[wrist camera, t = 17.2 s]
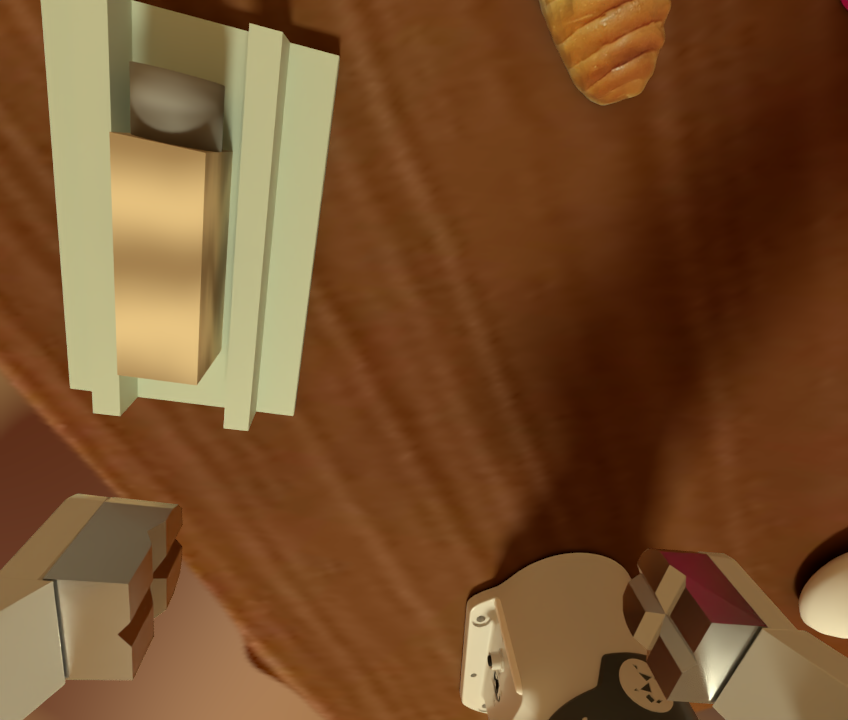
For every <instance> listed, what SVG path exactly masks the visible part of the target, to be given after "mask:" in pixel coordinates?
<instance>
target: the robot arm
mask: <svg viewBox="0 0 848 720" xmlns="http://www.w3.org/2000/svg"><path fill="white" fill-rule="evenodd" d="M182 525H183V524H182V508H181V507H180V506H179V505H178V504H169V503H160V502H151V501H143V500H134V499H125V498H117V497H112V498H109V497H101V496H94V495H84V494H76V495H73V496H71V497H69V498H68V499H66V500H65V501H64V502H63V503H62V504H61V505H60V507H59V508H58V509H57V510H56V511H55V512H54V513H53V514H52V515H51V516H50V517H49V519H48V520H47V521H46V522H45V523H44V524H43V525H42V526H41V527H40V528H39V529H38V530H37V532H36V533H35V534H34V535H33V536H32V537H31V538H30V539H29V540H28V541H27V542H26V543H25V544H24V546H23V547H22V548H21V549H20V550H19V551H18V552H17V553H16V554H15V555H14V556H13V557H12V558H11V560H10V561H9V562H8V563H7V564H6V565H5V566H4V567H3V568H2V569H1V570H0V720H23V719H24V718H25V717H26V716H28V715H29V714H30V713H31V712H32V711H34V710H35V709H36V708H37V707H38V706H39V705H41V704H42V703H43V702H44V701H45V700H46V699H48V698H49V697H50V696H51V695H52V694H54V693H55V692H56V691H57V690H58V689H60V688H61V687H62V686H63V685H64V684H65V680H133V679H134V677H135V675H136V672H137V670H138V668H139V666H140V664H141V662H142V660H143V657H144V655H145V654H146V651H147V649H148V647H149V645H150V643H151V641H152V639H153V637H154V618H155V617H157V616H158V615H159V614H161V613H162V612H163V611H165V610H166V609H167V607H168V604H169V602H170V600H171V598H172V596H173V594H174V591H175V587H176V584H177V581H178V578H179V574H180V569H181V562H182V546H181V544H180V543H179V542H178V541H177V540H176V539H175V538H176V536H177V534H178V532H179V531H180V529H181V527H182ZM637 566H638V569H639V572H640V574H638V575H637V576H636V577H634V578H633V579H632V580H631V578H630V576H629V574H628V573H627V571H626V570H625V569H624V568H623V567H622V566H621V565H620V564H619V563H617V562H615V561H614V560H612V559H610V558H607V557H604V556H601V555H597V554H591V553H568V554H561V555H556V556H552V557H549V558H545V559H543V560H540V561H537V562H535V563H533V564H531V565H529V566H527V567H525V568H523V569H522V570H520V571H519V572H517V573H516V574H514V575H513V576H512V577H510V578H509V579H508V580H506V581H505V582H503V583H502V584H500V585H499V586H497V587H494V588H491V589H488V590H485V591H483V592H480V593H478V594H476V595H474V596H472V597H471V598H470V599H469V600H468V602H467V607H466V620H465V632H464V644H463V656H462V669H461V681H460V697H461V700H462V703H463V704H464V705H465V706H467V707H469V708H471V709H473V710H476V711H479V712H483V713H487V714H488V718H489V720H700V719H698V717H697V716H696V714H695V712H694V711H693V709H692V707H691V705H690V704H689V702H695V703H709V704H714V705H713V706H712V707H713V708H714V709H716V710H717V712H718V713H719V714H720V715H721V716H722V717H723V718H725V719H726V720H848V658H846V657H845V656H843V655H842V654H840V653H839V652H837V651H836V650H834V649H833V648H831V647H830V646H828V645H826V644H825V643H823V642H822V641H820V640H819V639H817V638H816V637H814V636H813V635H811V634H809V633H808V632H806V631H800V630H797V629H796V628H795V627H794V626H793V624H792V623H791V622H790V621H789V620H788V619H787V618H786V617H785V616H784V614H783V613H782V612H781V611H780V610H779V609H778V608H777V607H776V606H775V604H774V603H773V602H772V601H771V600H770V599H769V598H768V597H767V595H766V594H765V593H764V592H763V591H762V590H761V589H760V588H759V587H758V585H757V584H756V583H755V582H754V581H753V580H752V579H751V578H750V577H749V575H748V574H747V573H746V572H745V571H744V570H743V569H742V568H741V566H740V565H739V564H738V563H737V562H736V561H735V560H734V559H733V558H731V557H729V556H728V555H726V554H724V553H712V552H692V551H680V550H668V549H656V548H648V549H647V550H646V551H644V552H643V553H642V554H641V556H640V558H639V560H638V562H637Z"/></svg>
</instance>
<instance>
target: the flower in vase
mask: <svg viewBox="0 0 848 720" xmlns="http://www.w3.org/2000/svg"><path fill="white" fill-rule="evenodd" d="M799 610H800V615H801V618H802V620H803V621H804V622H805V623H806V624H807V625H808V626H810V627H811V628H813V629H815V630H816V631H818V632H820V633H823V634H826V635H831V636H835V637H839V638H848V552H847V553H845V554H843V555H840V556H838V557H836V558H835V559H833V560H831V561H830V562H828V563H827V564H825V565H824V566H823V567H822V568H820V569H819V570H818V571H817V572H816V573H815V574H814V575H813V576H812V577H811V578H810V579H809V580H808V582H807V583H806V584H805V586H804V588H803V589H802V592H801V594H800V597H799Z"/></svg>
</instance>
